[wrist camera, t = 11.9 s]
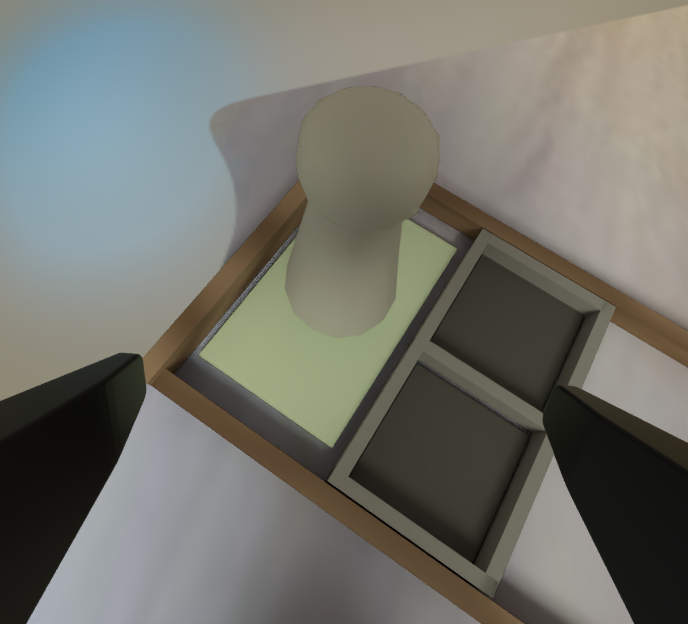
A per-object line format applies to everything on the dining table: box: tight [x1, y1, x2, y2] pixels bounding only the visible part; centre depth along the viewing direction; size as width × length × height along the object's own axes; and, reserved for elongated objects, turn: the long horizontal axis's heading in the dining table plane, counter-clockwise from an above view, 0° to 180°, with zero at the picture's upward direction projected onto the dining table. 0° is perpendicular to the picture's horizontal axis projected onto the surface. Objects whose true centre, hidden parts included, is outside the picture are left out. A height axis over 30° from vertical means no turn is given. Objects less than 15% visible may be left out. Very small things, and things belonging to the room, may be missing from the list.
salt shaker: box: [285, 86, 439, 338], centre depth 17 cm, size 6×6×13 cm
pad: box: [199, 219, 457, 448], centre depth 24 cm, size 14×8×1 cm, turn 147°
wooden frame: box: [142, 180, 688, 624], centre depth 22 cm, size 19×30×2 cm, turn 57°
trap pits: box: [326, 229, 616, 598], centre depth 22 cm, size 17×9×2 cm, turn 147°
